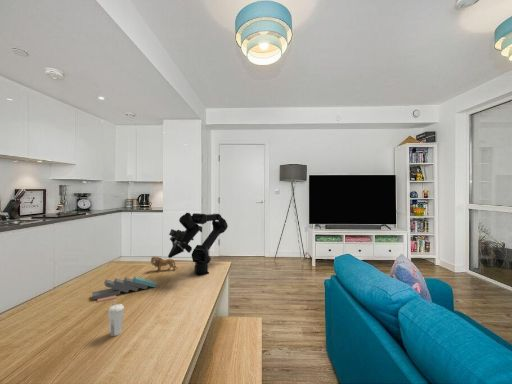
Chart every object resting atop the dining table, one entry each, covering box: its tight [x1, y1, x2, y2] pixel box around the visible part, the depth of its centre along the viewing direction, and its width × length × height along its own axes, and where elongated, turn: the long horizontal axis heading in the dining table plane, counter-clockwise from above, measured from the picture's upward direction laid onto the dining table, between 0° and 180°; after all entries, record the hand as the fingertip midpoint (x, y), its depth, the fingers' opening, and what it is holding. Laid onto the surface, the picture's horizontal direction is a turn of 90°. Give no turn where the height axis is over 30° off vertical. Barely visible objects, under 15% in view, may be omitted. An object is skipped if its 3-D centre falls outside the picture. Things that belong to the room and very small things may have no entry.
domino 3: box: [113, 277, 140, 292], centre depth 114 cm, size 2×5×10 cm
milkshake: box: [107, 299, 125, 337], centre depth 81 cm, size 4×5×10 cm
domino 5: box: [132, 275, 158, 288], centre depth 119 cm, size 2×5×10 cm
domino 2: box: [103, 278, 130, 294], centre depth 112 cm, size 2×5×10 cm
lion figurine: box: [150, 255, 178, 273], centre depth 144 cm, size 15×5×9 cm, turn 119°
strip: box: [96, 295, 117, 303], centre depth 109 cm, size 7×10×1 cm
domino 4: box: [122, 277, 149, 290], centre depth 116 cm, size 2×5×10 cm
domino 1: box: [91, 288, 121, 301], centre depth 109 cm, size 2×5×10 cm
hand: (168, 257), depth 126 cm, fingers closed
